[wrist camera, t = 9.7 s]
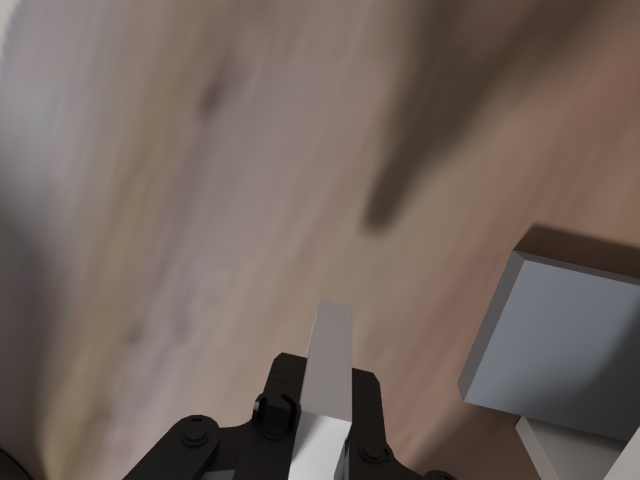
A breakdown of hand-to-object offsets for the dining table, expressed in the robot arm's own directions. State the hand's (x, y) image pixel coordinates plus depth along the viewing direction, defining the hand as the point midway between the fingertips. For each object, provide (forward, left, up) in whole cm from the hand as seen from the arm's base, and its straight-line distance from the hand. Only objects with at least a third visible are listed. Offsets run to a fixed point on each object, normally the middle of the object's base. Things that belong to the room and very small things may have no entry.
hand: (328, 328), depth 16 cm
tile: (+16, 0, -5) cm, 16 cm away
